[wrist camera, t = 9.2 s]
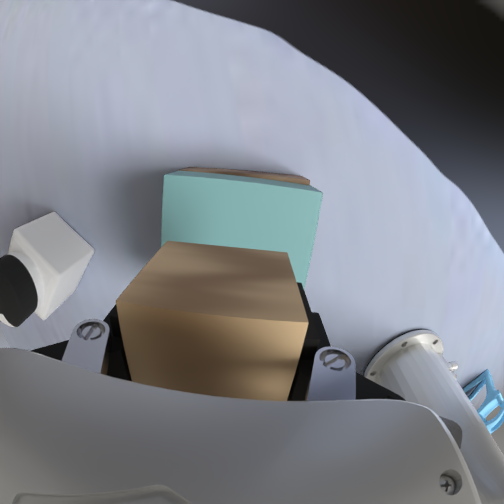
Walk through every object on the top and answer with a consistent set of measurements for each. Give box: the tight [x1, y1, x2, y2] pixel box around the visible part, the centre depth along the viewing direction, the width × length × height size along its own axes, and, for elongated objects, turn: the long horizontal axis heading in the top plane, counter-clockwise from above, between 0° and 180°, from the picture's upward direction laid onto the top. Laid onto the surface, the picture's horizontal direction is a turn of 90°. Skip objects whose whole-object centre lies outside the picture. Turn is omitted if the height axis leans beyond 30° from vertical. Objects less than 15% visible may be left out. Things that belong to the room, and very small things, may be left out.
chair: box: [463, 369, 504, 434], centre depth 30 cm, size 8×8×12 cm
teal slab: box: [161, 171, 323, 289], centre depth 20 cm, size 10×10×4 cm
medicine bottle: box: [0, 212, 95, 327], centre depth 21 cm, size 7×7×12 cm
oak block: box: [116, 241, 309, 401], centre depth 10 cm, size 5×5×5 cm
